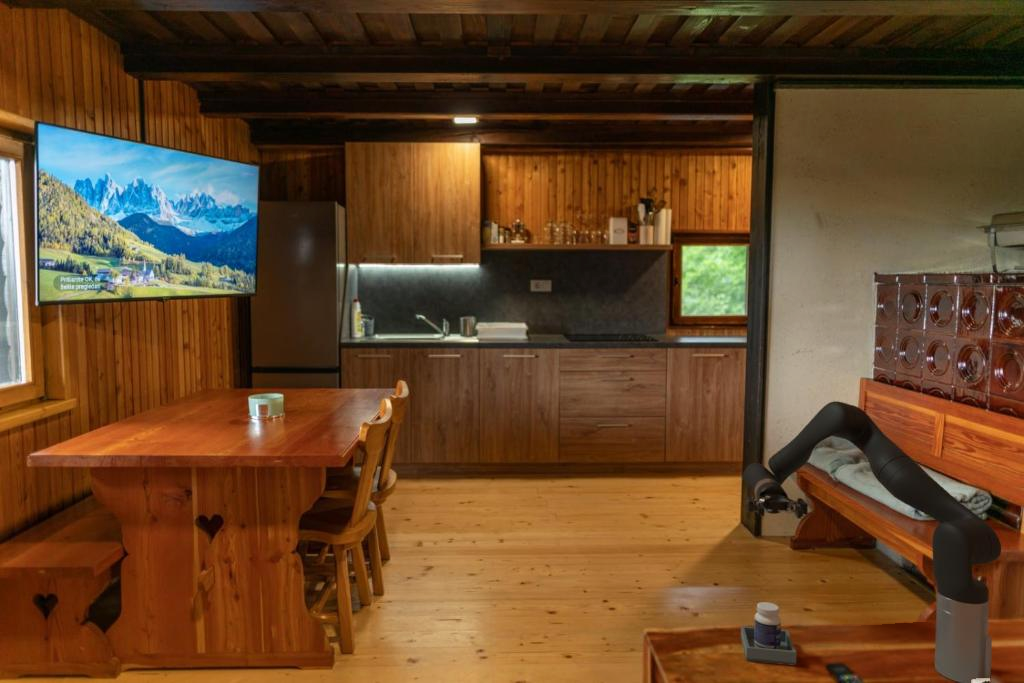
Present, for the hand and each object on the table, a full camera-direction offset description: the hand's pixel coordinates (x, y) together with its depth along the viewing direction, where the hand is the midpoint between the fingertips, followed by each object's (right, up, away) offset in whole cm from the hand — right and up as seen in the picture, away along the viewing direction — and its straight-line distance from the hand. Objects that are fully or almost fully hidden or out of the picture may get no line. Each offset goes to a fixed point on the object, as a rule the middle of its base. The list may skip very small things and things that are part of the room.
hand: (781, 513), depth 168 cm
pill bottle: (-8, -28, -12) cm, 32 cm away
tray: (-8, -29, -12) cm, 32 cm away
